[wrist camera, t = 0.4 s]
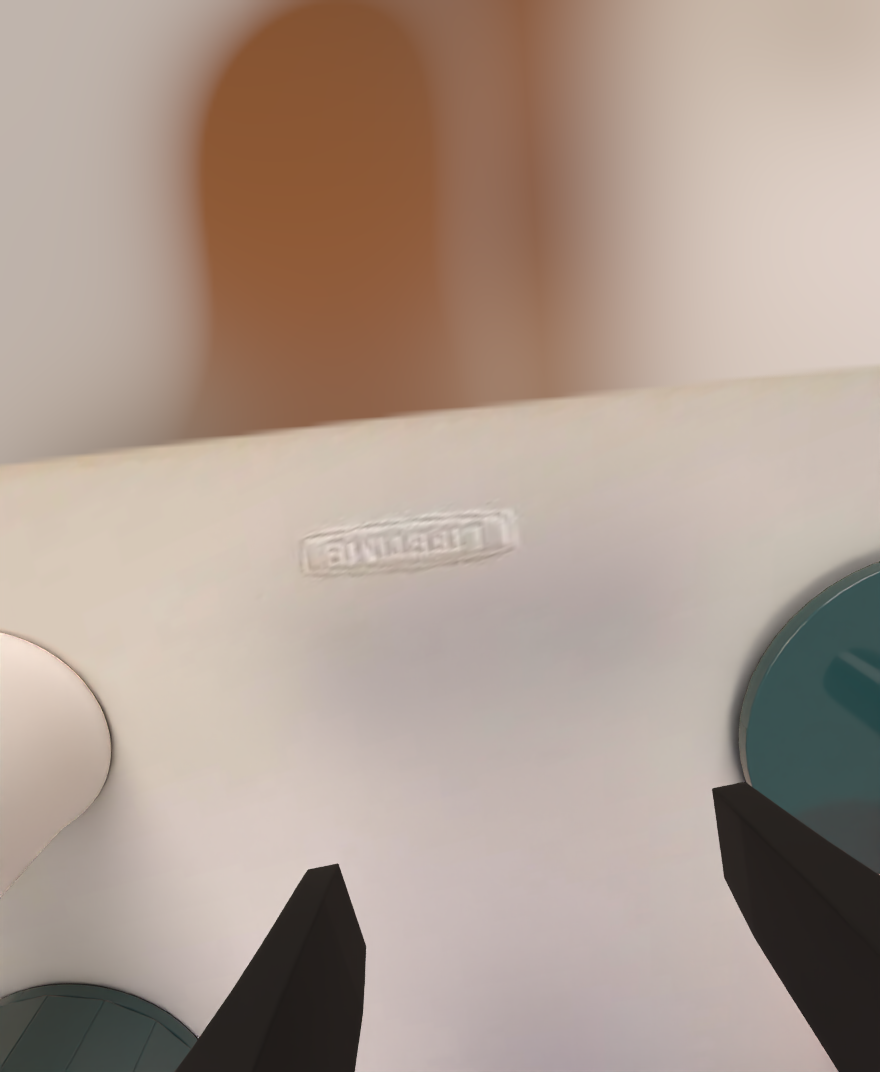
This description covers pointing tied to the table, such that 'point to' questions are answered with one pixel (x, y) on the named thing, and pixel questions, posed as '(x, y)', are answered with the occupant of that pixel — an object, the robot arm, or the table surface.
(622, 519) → the table surface
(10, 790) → the mug
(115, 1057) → the pot
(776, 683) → the lid
